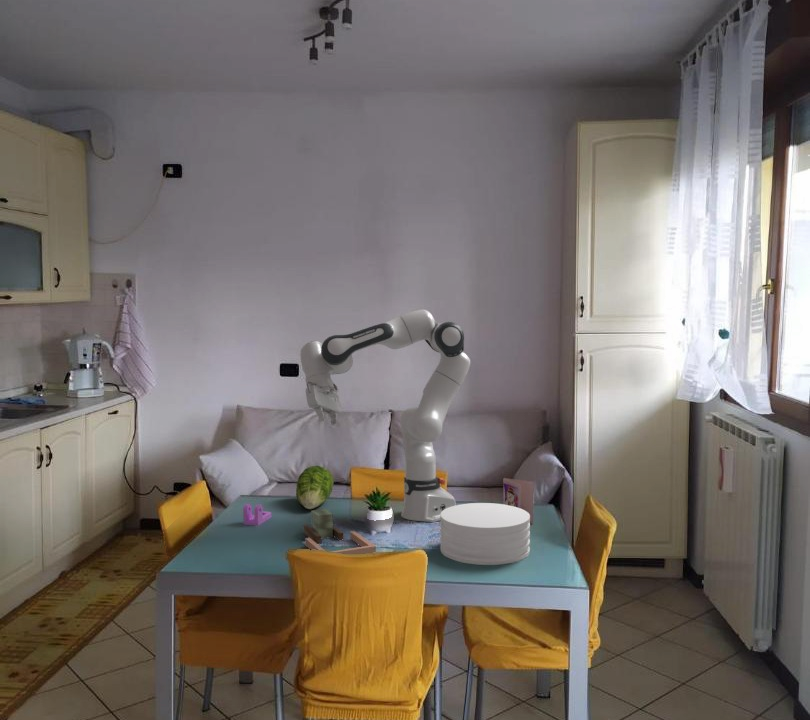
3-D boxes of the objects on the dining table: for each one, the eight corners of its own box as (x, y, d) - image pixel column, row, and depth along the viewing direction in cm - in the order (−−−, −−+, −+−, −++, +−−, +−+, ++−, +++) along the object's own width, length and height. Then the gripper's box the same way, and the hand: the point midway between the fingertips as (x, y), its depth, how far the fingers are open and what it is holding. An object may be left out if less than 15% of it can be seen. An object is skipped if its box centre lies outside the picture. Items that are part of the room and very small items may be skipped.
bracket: (258, 525, 277) (257, 506, 276) (243, 524, 278) (243, 505, 278) (273, 515, 289) (273, 497, 289) (259, 514, 291) (259, 496, 290)
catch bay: (354, 538, 261) (354, 531, 261) (375, 554, 246) (375, 546, 245) (305, 545, 254) (305, 538, 254) (323, 562, 238) (323, 554, 238)
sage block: (325, 531, 269) (325, 508, 268) (332, 537, 263) (332, 513, 262) (311, 533, 267) (311, 510, 266) (318, 539, 261) (318, 515, 260)
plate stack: (436, 537, 262) (436, 503, 261) (519, 535, 264) (520, 501, 263) (445, 566, 234) (445, 528, 234) (538, 564, 236) (539, 526, 235)
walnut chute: (328, 528, 272) (328, 521, 272) (343, 540, 260) (343, 532, 259) (303, 532, 268) (303, 525, 268) (317, 544, 256) (316, 536, 255)
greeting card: (501, 519, 282) (501, 478, 281) (519, 517, 285) (519, 476, 284) (517, 528, 272) (518, 485, 270) (536, 525, 275) (536, 483, 273)
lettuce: (293, 523, 294) (286, 491, 290) (302, 495, 316) (296, 465, 312) (331, 518, 293) (324, 486, 289) (337, 490, 315) (331, 460, 311)
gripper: (314, 377, 267) (323, 415, 263) (339, 388, 286) (348, 424, 281) (298, 383, 269) (307, 421, 264) (324, 394, 287) (333, 429, 283)
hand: (328, 422), depth 273 cm, fingers open, 8 cm apart
